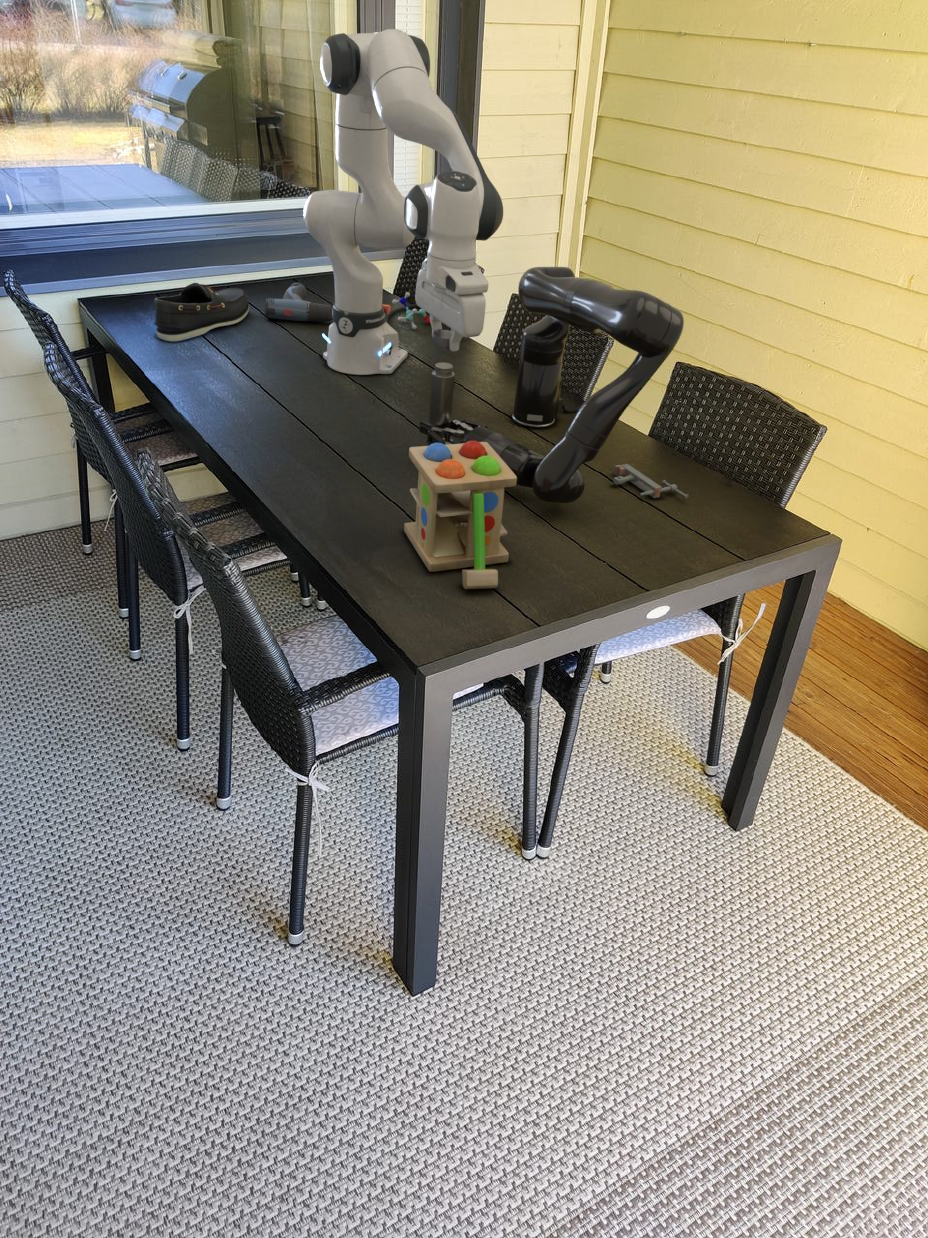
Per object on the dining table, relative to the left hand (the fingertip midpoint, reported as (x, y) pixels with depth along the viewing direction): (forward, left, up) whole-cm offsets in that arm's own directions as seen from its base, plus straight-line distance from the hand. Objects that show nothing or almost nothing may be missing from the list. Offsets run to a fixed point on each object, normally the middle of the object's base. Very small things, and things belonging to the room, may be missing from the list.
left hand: (445, 344), depth 187 cm
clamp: (-9, +41, -23) cm, 48 cm away
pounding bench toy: (+35, +22, -23) cm, 47 cm away
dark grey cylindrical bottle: (0, 0, -23) cm, 23 cm away
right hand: (-1, -2, -17) cm, 17 cm away
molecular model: (-70, -43, -23) cm, 85 cm away
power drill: (-60, -70, -23) cm, 95 cm away
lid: (0, 0, +2) cm, 2 cm away
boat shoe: (-35, -85, -23) cm, 95 cm away
